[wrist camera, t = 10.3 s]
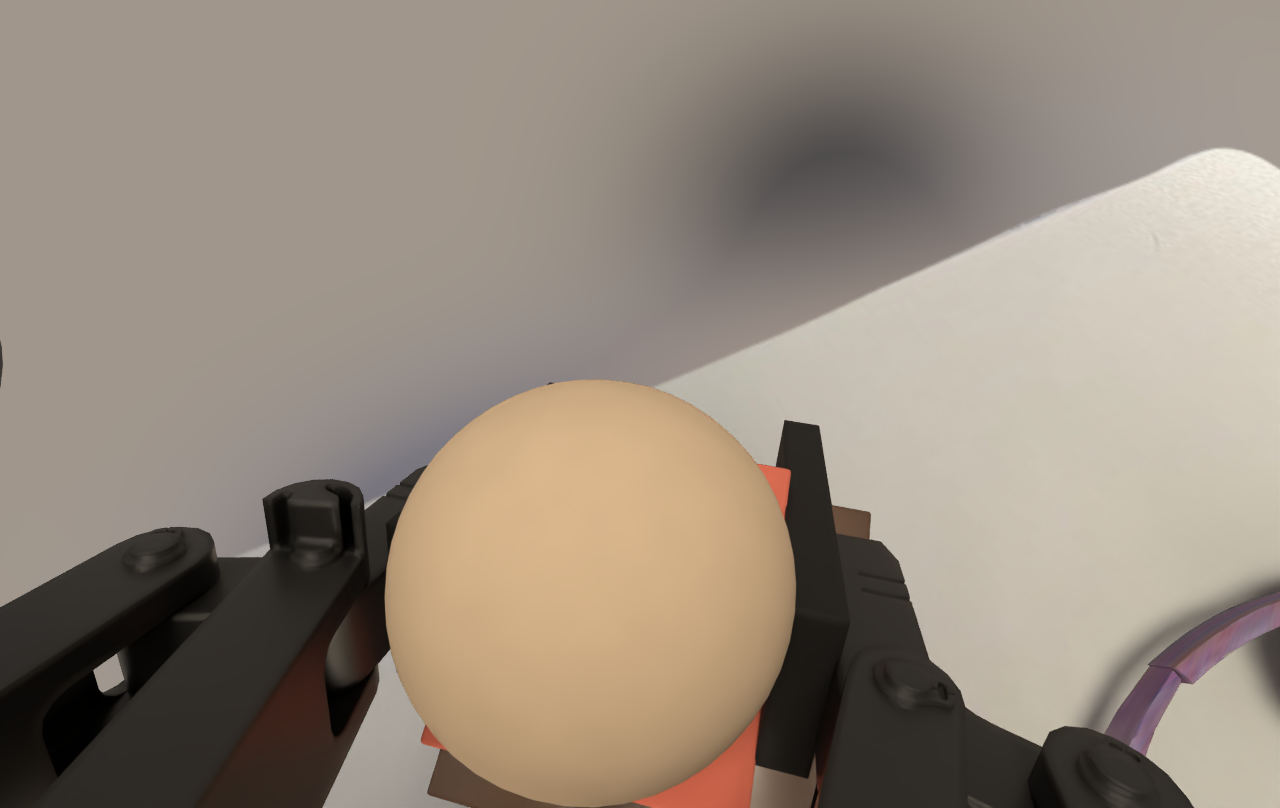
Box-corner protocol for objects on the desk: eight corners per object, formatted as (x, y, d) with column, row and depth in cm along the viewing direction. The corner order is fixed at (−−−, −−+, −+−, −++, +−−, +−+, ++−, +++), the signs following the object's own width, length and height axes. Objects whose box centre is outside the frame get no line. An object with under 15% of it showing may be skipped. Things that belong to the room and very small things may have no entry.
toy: (537, 718, 15) (167, 796, 5) (588, 520, 17) (412, 258, 7) (725, 767, 14) (798, 998, 4) (755, 553, 17) (857, 316, 6)
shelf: (491, 769, 23) (425, 795, 18) (566, 498, 28) (532, 450, 22) (807, 858, 21) (845, 919, 16) (834, 549, 26) (872, 511, 20)
